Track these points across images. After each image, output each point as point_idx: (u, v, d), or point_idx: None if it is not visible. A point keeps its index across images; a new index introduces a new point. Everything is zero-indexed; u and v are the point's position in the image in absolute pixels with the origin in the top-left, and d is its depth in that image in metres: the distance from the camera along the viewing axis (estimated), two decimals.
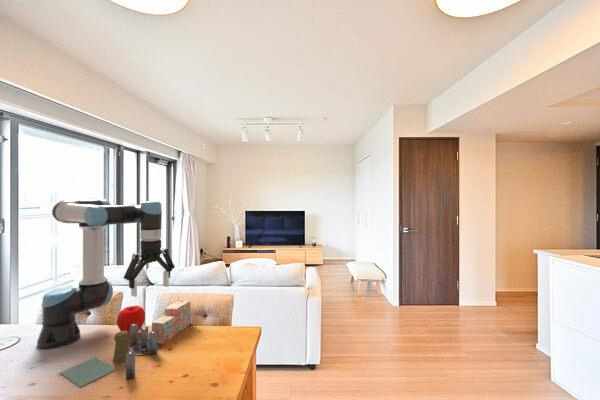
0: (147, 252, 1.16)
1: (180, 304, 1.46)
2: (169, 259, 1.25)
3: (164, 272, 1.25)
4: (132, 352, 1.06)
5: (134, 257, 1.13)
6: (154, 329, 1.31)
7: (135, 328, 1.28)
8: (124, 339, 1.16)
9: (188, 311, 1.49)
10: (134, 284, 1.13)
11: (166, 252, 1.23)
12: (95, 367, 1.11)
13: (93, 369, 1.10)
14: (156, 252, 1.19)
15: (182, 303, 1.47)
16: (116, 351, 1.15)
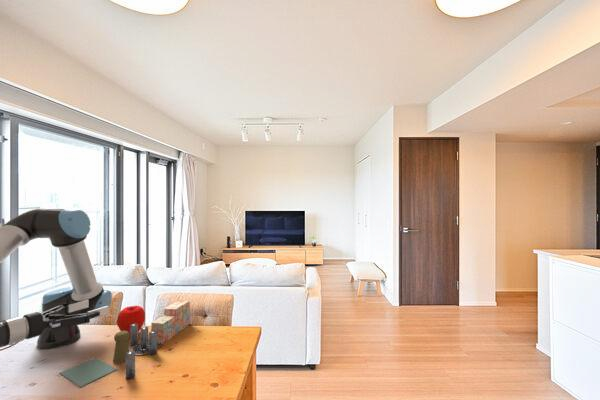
0: None
1: (179, 304, 1.45)
2: None
3: None
4: (132, 352, 1.06)
5: None
6: (153, 329, 1.31)
7: (135, 328, 1.28)
8: (124, 339, 1.16)
9: (187, 311, 1.49)
10: None
11: None
12: (95, 367, 1.11)
13: (93, 369, 1.10)
14: None
15: (181, 303, 1.47)
16: (116, 351, 1.15)
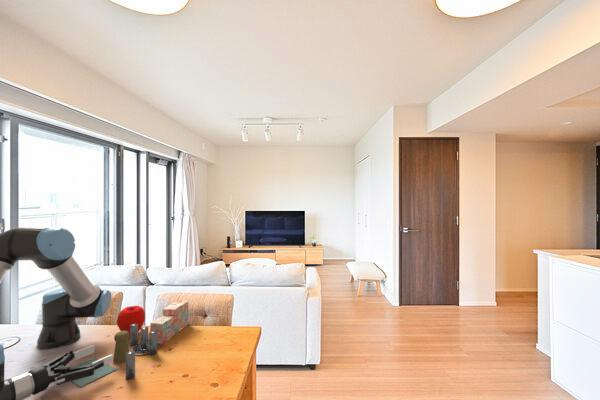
0: None
1: (178, 304, 1.45)
2: None
3: None
4: (132, 352, 1.06)
5: None
6: (153, 330, 1.31)
7: (135, 328, 1.28)
8: (124, 339, 1.16)
9: (186, 311, 1.49)
10: None
11: None
12: None
13: None
14: None
15: (180, 303, 1.47)
16: (116, 351, 1.15)
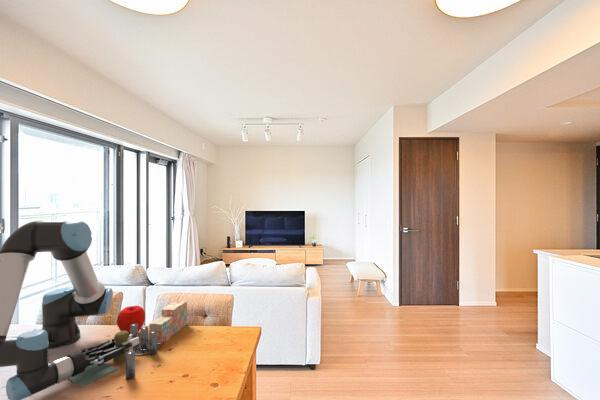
0: None
1: (177, 305, 1.45)
2: None
3: None
4: (132, 352, 1.06)
5: None
6: (151, 330, 1.30)
7: (135, 328, 1.28)
8: (124, 339, 1.16)
9: (184, 312, 1.48)
10: None
11: None
12: (95, 367, 1.11)
13: (93, 369, 1.10)
14: None
15: (179, 304, 1.46)
16: None
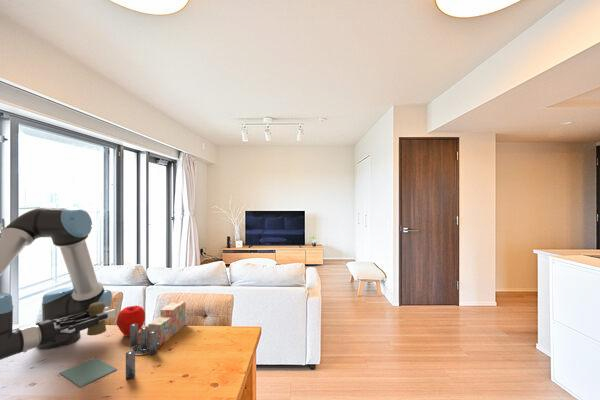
0: None
1: (175, 305, 1.44)
2: None
3: None
4: (132, 352, 1.06)
5: None
6: (150, 331, 1.30)
7: (135, 328, 1.28)
8: (99, 310, 1.10)
9: (183, 312, 1.48)
10: None
11: None
12: (95, 367, 1.11)
13: (93, 369, 1.10)
14: None
15: (177, 304, 1.46)
16: None
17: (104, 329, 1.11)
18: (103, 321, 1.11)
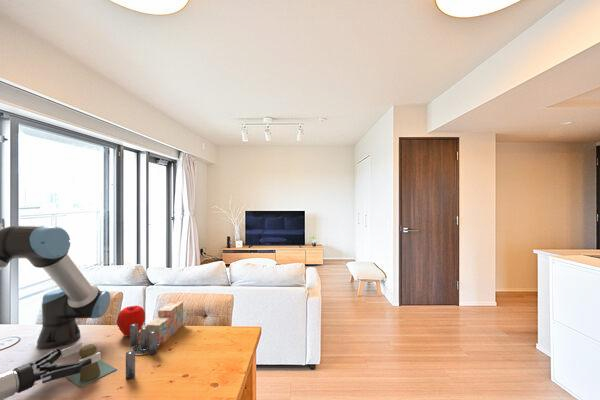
0: None
1: (173, 305, 1.44)
2: None
3: None
4: (132, 352, 1.06)
5: None
6: (149, 331, 1.29)
7: (135, 328, 1.28)
8: (90, 354, 1.04)
9: (181, 312, 1.48)
10: None
11: None
12: None
13: None
14: None
15: (175, 304, 1.45)
16: None
17: (97, 373, 1.06)
18: (96, 364, 1.06)
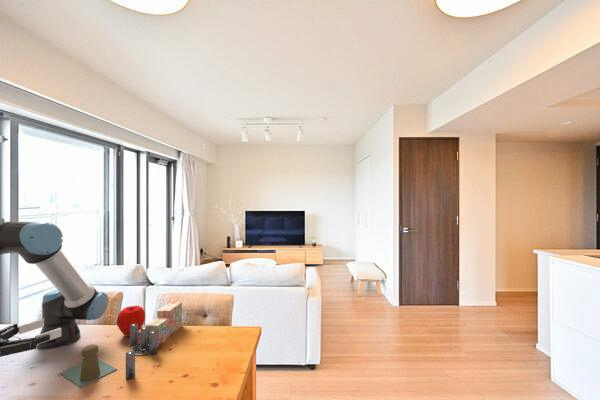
0: None
1: (172, 306, 1.43)
2: None
3: None
4: (132, 352, 1.06)
5: None
6: (148, 332, 1.28)
7: (135, 328, 1.28)
8: (92, 354, 1.04)
9: (179, 312, 1.47)
10: None
11: None
12: None
13: None
14: None
15: (174, 305, 1.45)
16: (83, 368, 1.03)
17: (98, 374, 1.06)
18: (97, 366, 1.06)
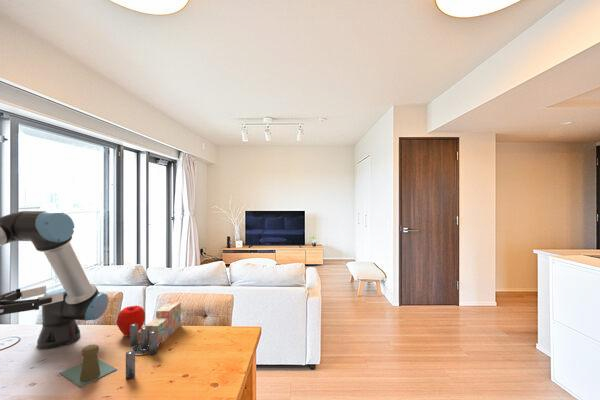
0: None
1: (171, 306, 1.43)
2: None
3: None
4: (132, 352, 1.06)
5: None
6: None
7: (135, 328, 1.28)
8: (92, 354, 1.04)
9: (178, 313, 1.47)
10: None
11: None
12: None
13: None
14: None
15: (173, 305, 1.45)
16: (83, 368, 1.03)
17: (98, 374, 1.06)
18: (97, 366, 1.06)
